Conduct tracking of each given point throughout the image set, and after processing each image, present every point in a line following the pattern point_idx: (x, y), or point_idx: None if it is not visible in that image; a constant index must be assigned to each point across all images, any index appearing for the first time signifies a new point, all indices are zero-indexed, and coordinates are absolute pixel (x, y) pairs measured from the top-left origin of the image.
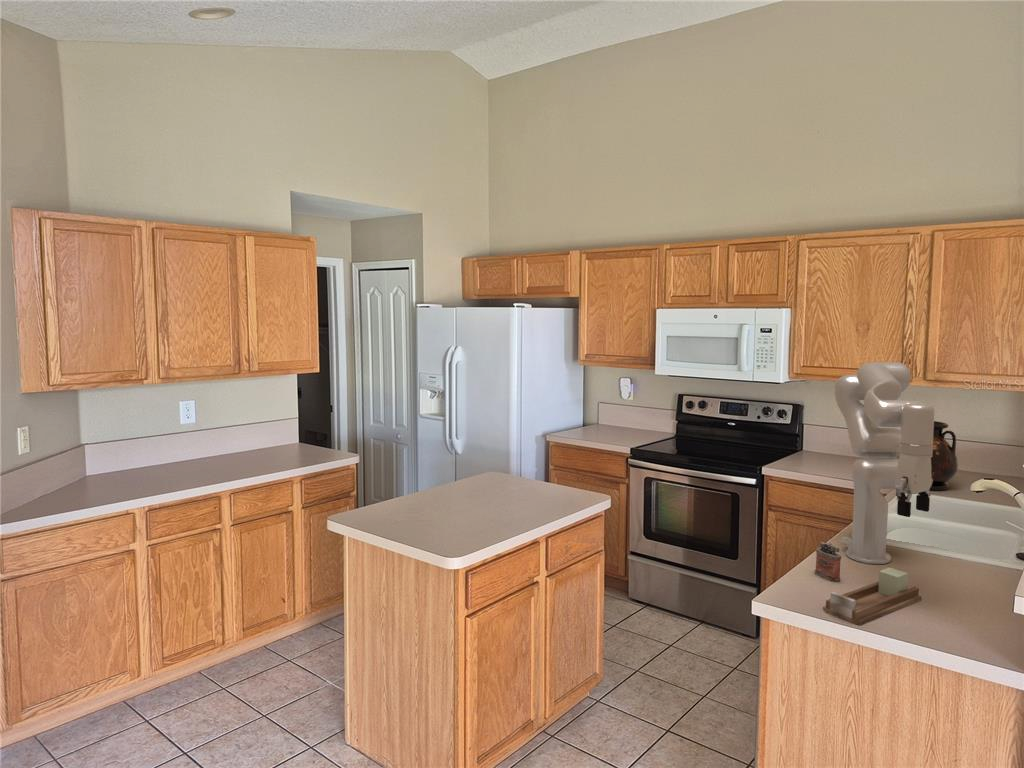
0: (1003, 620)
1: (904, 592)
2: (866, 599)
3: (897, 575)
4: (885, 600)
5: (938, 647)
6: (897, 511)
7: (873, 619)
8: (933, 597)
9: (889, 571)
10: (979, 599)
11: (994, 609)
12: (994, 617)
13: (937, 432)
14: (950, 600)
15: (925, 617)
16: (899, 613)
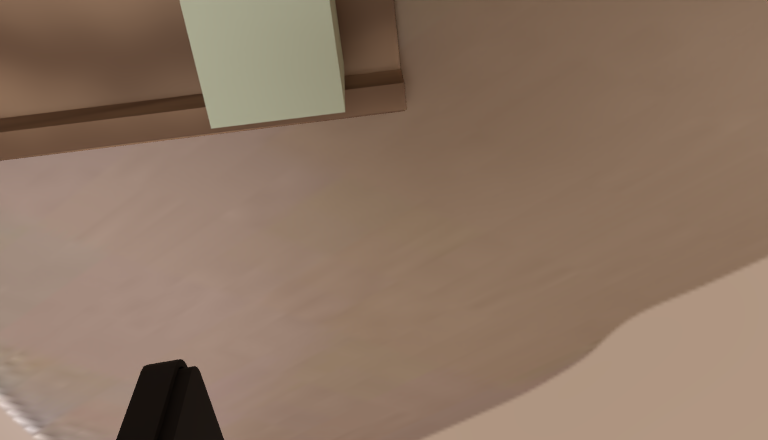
0: (514, 366)
1: None
2: (51, 3)
3: (236, 106)
4: (59, 144)
5: (46, 407)
6: (135, 398)
7: None
8: (497, 107)
9: (247, 28)
10: (668, 213)
11: (601, 298)
12: (513, 340)
13: None
14: (535, 166)
15: (231, 237)
16: (144, 163)
